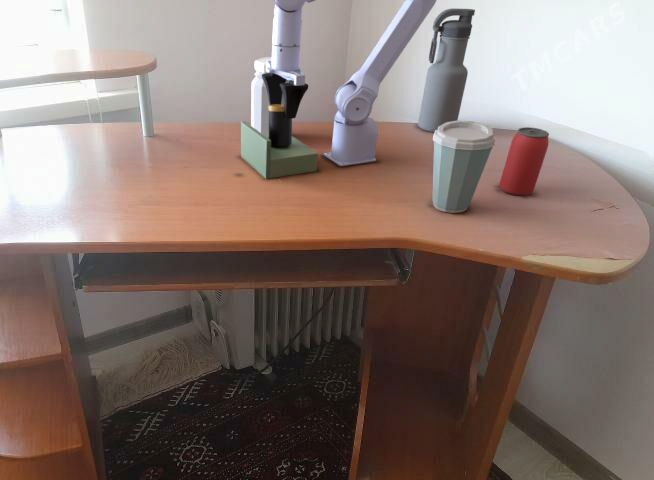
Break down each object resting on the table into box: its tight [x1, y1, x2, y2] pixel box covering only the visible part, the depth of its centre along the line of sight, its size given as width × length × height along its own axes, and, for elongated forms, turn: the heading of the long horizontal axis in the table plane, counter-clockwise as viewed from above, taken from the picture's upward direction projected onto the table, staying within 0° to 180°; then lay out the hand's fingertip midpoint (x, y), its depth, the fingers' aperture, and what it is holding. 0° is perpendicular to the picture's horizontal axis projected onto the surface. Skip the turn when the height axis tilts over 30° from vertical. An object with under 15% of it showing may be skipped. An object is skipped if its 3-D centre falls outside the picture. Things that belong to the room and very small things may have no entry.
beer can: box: [498, 126, 550, 197], centre depth 107 cm, size 7×7×12 cm
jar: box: [250, 56, 289, 137], centre depth 131 cm, size 10×10×18 cm
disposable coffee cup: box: [432, 119, 496, 214], centre depth 100 cm, size 11×11×15 cm
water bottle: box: [417, 8, 476, 133], centre depth 137 cm, size 10×10×28 cm
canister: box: [268, 104, 293, 146], centre depth 117 cm, size 5×5×8 cm
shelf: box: [240, 121, 319, 180], centre depth 119 cm, size 12×14×8 cm
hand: (282, 113), depth 117 cm, fingers open, 7 cm apart
